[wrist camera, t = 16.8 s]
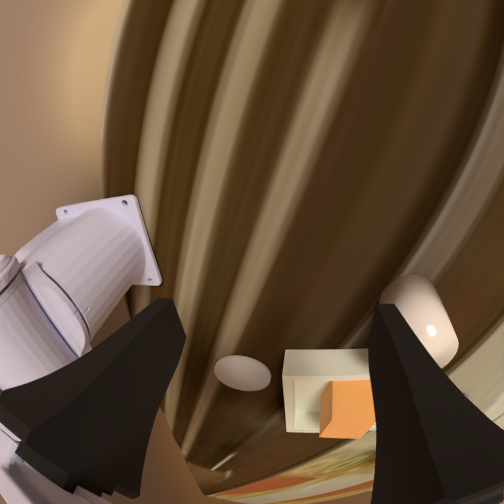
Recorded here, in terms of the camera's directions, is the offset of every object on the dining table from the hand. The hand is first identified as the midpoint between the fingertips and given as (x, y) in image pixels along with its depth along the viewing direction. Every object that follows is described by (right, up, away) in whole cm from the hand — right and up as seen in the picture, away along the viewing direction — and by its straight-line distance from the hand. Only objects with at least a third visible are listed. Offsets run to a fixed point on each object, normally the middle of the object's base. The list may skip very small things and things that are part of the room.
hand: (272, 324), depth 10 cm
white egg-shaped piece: (+12, -1, +11) cm, 16 cm away
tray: (+9, -12, +17) cm, 23 cm away
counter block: (+9, -12, +17) cm, 23 cm away
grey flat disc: (-2, -10, +19) cm, 22 cm away
